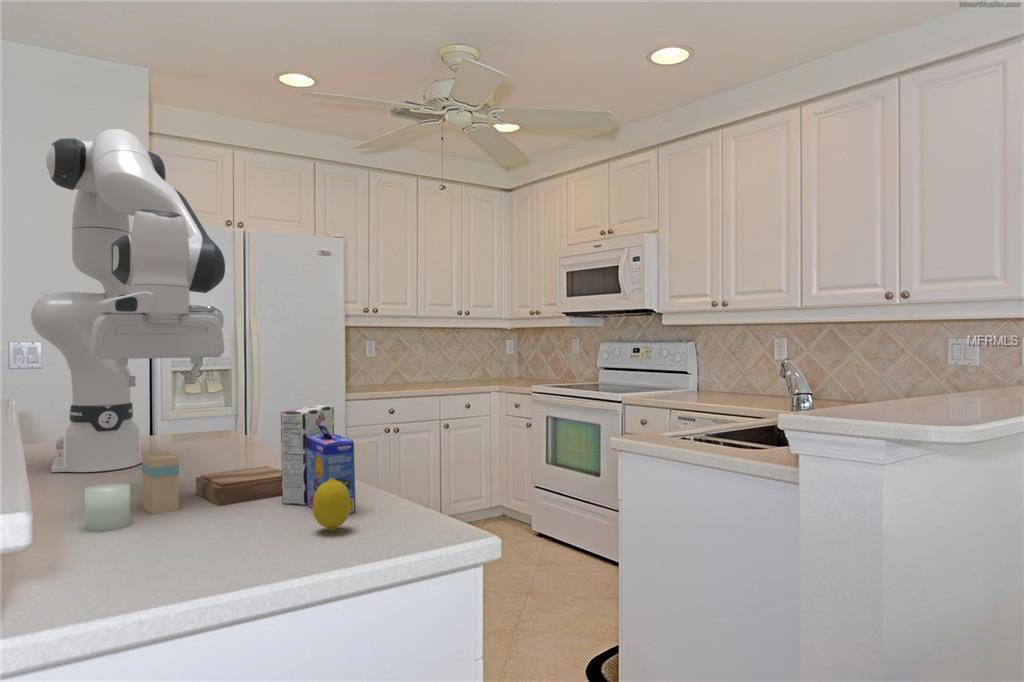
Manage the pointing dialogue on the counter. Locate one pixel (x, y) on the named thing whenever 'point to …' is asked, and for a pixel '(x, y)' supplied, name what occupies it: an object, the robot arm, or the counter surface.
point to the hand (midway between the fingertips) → (160, 385)
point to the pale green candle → (107, 507)
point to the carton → (160, 482)
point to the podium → (240, 485)
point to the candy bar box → (300, 447)
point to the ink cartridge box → (330, 463)
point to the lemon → (331, 504)
